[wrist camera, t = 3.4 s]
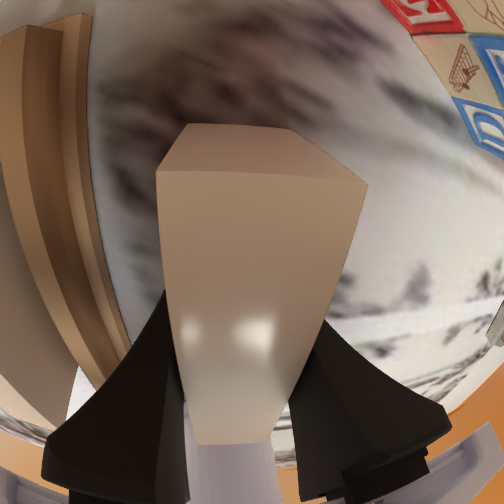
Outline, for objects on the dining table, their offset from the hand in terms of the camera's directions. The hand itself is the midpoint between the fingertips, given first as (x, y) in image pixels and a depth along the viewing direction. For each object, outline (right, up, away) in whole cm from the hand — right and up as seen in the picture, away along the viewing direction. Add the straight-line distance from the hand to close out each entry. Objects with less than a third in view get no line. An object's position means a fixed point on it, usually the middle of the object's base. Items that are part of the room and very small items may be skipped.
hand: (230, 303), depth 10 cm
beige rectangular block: (0, +1, +1) cm, 1 cm away
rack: (-13, +3, -2) cm, 13 cm away
